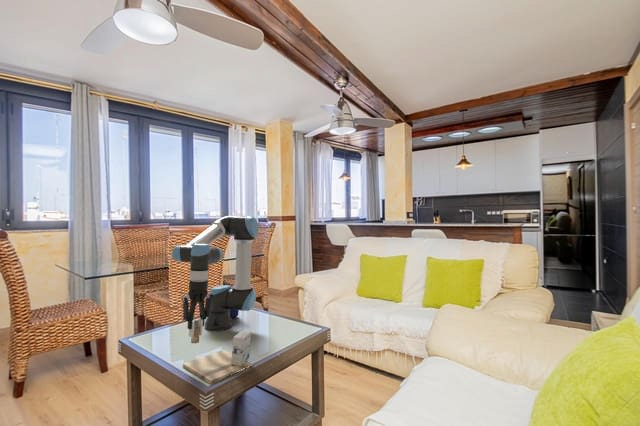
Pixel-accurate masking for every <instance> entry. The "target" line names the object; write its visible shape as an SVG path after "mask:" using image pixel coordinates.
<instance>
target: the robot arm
mask: <svg viewBox="0 0 640 426" xmlns="http://www.w3.org/2000/svg"><path fill="white" fill-rule="evenodd" d="M259 231H260V230H259V222H258V220H257V218H255V217H254V216H248V215H245V216H244V215H226V216H223V217H221V218H219V219H216V220H214V221H213V222H211V223H210V225H209V227H208V228H206V229H205V230H204V231H203V232H201V233H199V234H197V236H195V237H194V238H192V239H191V240H190V241H188V242H187V243H186V244H184V245H182V244H181V245H176V246H174V247H173V249H172V251H171V257H172V259H173V261H175V262H179V263H190V266H189V267H190V268H189V282H188V293H187V295H185V296H182V297H181V300H182V313H183V315H182V316H183V320H184V321H186V322H187V328H186V329H188V337H190V338H191V337H194V323H195V321H194V317H195V311H196V307H197V305H198V308H199V309H198V310H199V318H197V320H199V322H198V327H200V334H199V336H202V335H203V328H204V329H206V330H208V331H223V330H227V329H230V328H231V327H232V326H233V320H232V319H231V316H230V310H239V311H242V312H244V311H245V312H246V311H247V312H249V311H251V310H252V309H253V308H254V307H255V303H256V299H257V291H256V290H255V289H254V286H253V285H252V284H251V276H252V250H253V249H252V247H253V242H254V241H255V238H257V236H258V235H259ZM225 236H226V237H228V236H231V237H233V240H234V241H235V242H236V243H235V244H236V248H235V249H236V251H235V277H234V279H235V281H234V284H233V285H232V286H233V287H232V286H231V285H230V284H229V285H227V284H225V285H224V284H223V285H218V286H212V287H211V288H210V290H209V291H208V286H209V269H210V265H213V264H217V263H219V262H221V261H222V260H223V258H224V252H223V250H222V249H221V248H220V247H218V246H212V247H211V245H212V244H213V243H215V241H217V240H218V239H221V238H224V237H225ZM231 287H232V289H231ZM189 301H190V302H189Z"/></svg>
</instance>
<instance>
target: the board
mask: <svg viewBox="0 0 640 426" xmlns="http://www.w3.org/2000/svg"><path fill="white" fill-rule="evenodd" d="M231 362H232V353H231V352H229V351H227V350H225V349H222V350H220V351H216V352H213V353H211V354H208V355H205V356H202V357H198V358H195V359H192V360H190V361H187V362H183V363H182V367H184V368H185V369H187V370H188V371H190V372H192V373H193V374H194V375H196V376H198V377H199V378H200V379H202V380H204V381H205V380H206V381H205V382H207V381H208V383H209V382H210V383H211V384H213V383H212V382H214V383H216V382H219V381H221V380H223V379H222V378H224V377H226V376H229V375H231V374H233V373H235V372H237V371H239V370H241V369H243V368H246V367H248V366H250V365H252V364H253V363H251V362H250V361H248V360H247V361H246V362H245V363H244V364H243V365H242V366H238V365H233V364H231ZM252 366H253V365H252ZM231 376H232V375H231ZM229 377H230V376H229ZM226 378H227V377H226ZM220 379H221V380H220ZM224 379H225V378H224ZM218 380H219V381H218ZM215 381H216V382H215ZM210 383H209V384H210Z"/></svg>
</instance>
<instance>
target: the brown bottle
mask: <svg viewBox="0 0 640 426" xmlns="http://www.w3.org/2000/svg"><path fill="white" fill-rule="evenodd" d="M193 321H195V323H194V337H190V339H191V340H190V343H191V344H199V342H200V335H199V334H200V327H198V322H199V320H198V319H193Z"/></svg>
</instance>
